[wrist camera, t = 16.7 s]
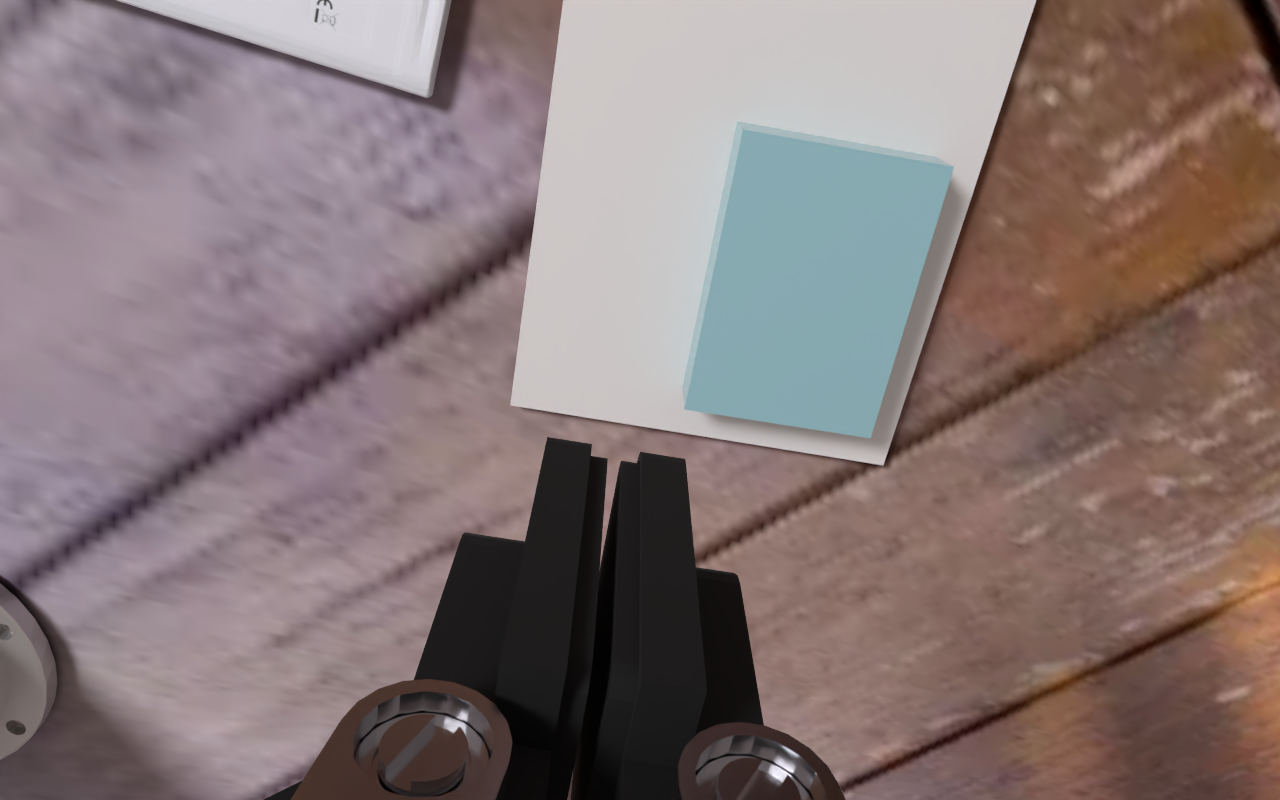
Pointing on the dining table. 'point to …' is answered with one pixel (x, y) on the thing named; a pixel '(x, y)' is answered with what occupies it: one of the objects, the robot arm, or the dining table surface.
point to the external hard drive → (332, 33)
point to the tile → (810, 278)
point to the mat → (696, 169)
